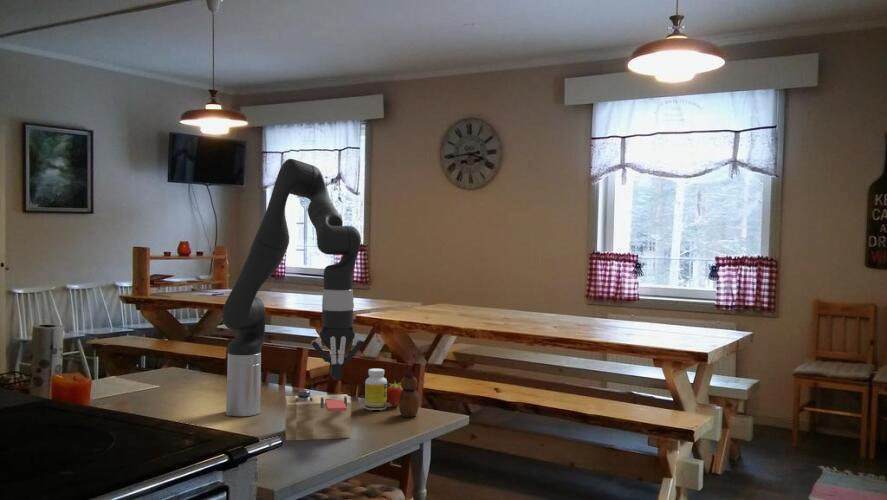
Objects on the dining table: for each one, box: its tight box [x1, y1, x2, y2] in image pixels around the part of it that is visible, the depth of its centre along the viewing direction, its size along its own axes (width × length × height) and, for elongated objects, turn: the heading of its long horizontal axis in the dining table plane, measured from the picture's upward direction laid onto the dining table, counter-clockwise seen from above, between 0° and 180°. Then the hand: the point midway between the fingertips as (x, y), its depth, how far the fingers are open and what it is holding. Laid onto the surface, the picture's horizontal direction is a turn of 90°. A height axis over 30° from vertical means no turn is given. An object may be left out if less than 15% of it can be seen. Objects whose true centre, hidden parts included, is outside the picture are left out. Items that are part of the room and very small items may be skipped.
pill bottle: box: [364, 368, 388, 411], centre depth 226 cm, size 6×6×12 cm
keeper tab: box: [325, 399, 347, 411], centre depth 187 cm, size 4×10×1 cm, turn 13°
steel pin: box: [297, 389, 311, 402], centre depth 195 cm, size 3×3×11 cm
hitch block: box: [284, 393, 352, 441], centre depth 195 cm, size 16×12×11 cm
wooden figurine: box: [398, 362, 420, 418], centre depth 218 cm, size 7×6×15 cm
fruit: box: [387, 381, 403, 408], centre depth 229 cm, size 5×5×8 cm
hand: (336, 378), depth 185 cm, fingers closed
